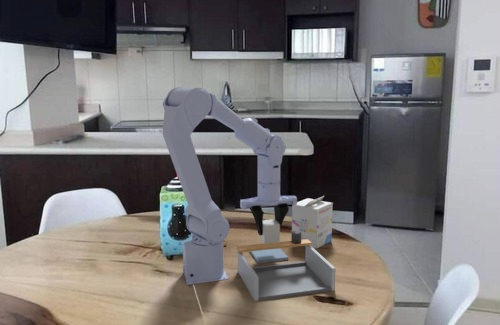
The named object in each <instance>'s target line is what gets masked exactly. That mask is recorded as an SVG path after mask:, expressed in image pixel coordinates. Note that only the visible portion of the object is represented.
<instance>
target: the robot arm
mask: <svg viewBox="0 0 500 325" xmlns="http://www.w3.org/2000/svg"><path fill="white" fill-rule="evenodd" d="M162 106H163V110H164V112H163V113H164V114H163V123H162V137H163V139H164V141H165V145H166V148H167V150H168V153H169V155H170V156H169V157H170V159H171V161H172V164H173V167H174V170H175V172H176V175H177V177H178V180H179V184H180V186H181V189H182V192H183V194H184V197H185V200H186V203H187V206H186V207H185V209H184V211H185V215H186V221H185V223H186V224H185V225H186V228H187V230H188V231H189V232H190V233H191V239H190V240H187V241H184V242H182V260H183V263H182V273H183V275H184V279H185V282H186V285H187V286H192V285H195V284H200V283H201V284H202V283H210V282H218V281H227V280H229V277H228V275H227V272H226V271H225V269H224V267H225V266H224V265H225V264H224V263H225V262H224V261H225V260H224V256H225V255H224V243H225V239H226V238H227V236H228V235H229V232H230V224H229V221H228V220H227V218H226V217H224V215H223V213H222V211H221V208H219V206H218V205H217V204H216V203H215V201H213V199H212V196H211V193H210V190H209V187H208V184H207V182H206V178H205V176H204V173H203V170H202V167H201V164H200V161H199V159H198V158H199V157H198V156H197V152H196V149H195V147H194V144H193V141H192V138H191V135H192V133H193V132H194V130H195V129H196V127H197V126H199V124H200V123H201V122H202V121H203V120H204V119H205V118H206V117H207V116H208V117H211V118H213V119H214V120H217V121H218V122H220V123H221V124H223V125H225V126H226V127H228V128H230V129H231V130H233V131H234V132H233V133H234V136H235V139H237V140H238V141H240V142H242V143H243V144H245V145H246V146H247V147H249V148H251V149H252V151H253V153H254V154H255V155H257V196H255V197H251V198H246V199H244V198H243V199H240V201H239V203H240V204H239V205H240V206H239V207H240V208H241V209H242V210H246V209H249V211H250V212H251V214H252V216H253V218H254V222H255V225H256V228H257V229H256V230H257V234H259V236H260V235H263V220H264V213H265V212H264V211H263V208H262V207H273V212H274V219H275V220H276V221H277V222H278V223H279V224H280V230H281V229H282V225H283V223H284V219H285V218H286V216H287V214H288V212H289V208H290V207H289V206H288V205H297V202H298V198H297V196H296V195H281V165H282V162H283V157H284V154H285V153H286V148H287V146H286V145H285V142H284V140H283V138H282V137H281V136H279V135H276V134H272V133H271V130H270V129H269V128H266V127H265V128H264V127H263V126H262V125H261V124H259V123H258V119H256V118H255V117H245V118H242V117H241V116H240V115H238V114H237V113H236V111H235V112H234V111H233V110H232V109H231V108H229V107H228V106H227V105H226V104H224V102H223V101H221V100H219V99H218V98H217V96H216V95H215V94H213V93H210V92H209V91H207V89H205V88H203V87H182V86H181V87H180V86H177V87H173V88H171V90H169V92H168V93H167V95H166V96H165V98H164V100H163V102H162Z"/></svg>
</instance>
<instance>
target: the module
mask: <svg viewBox="0 0 500 325" xmlns="http://www.w3.org/2000/svg"><path fill="white" fill-rule="evenodd" d="M280 234H281V229H280V224H279V223H278V222H277V221H276V220H275V218H273V219H271V218H270V219H263V235H259V240H260V241H261V242H262V244H265V243H275V242H281V241H280V240H281V238H280Z"/></svg>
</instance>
